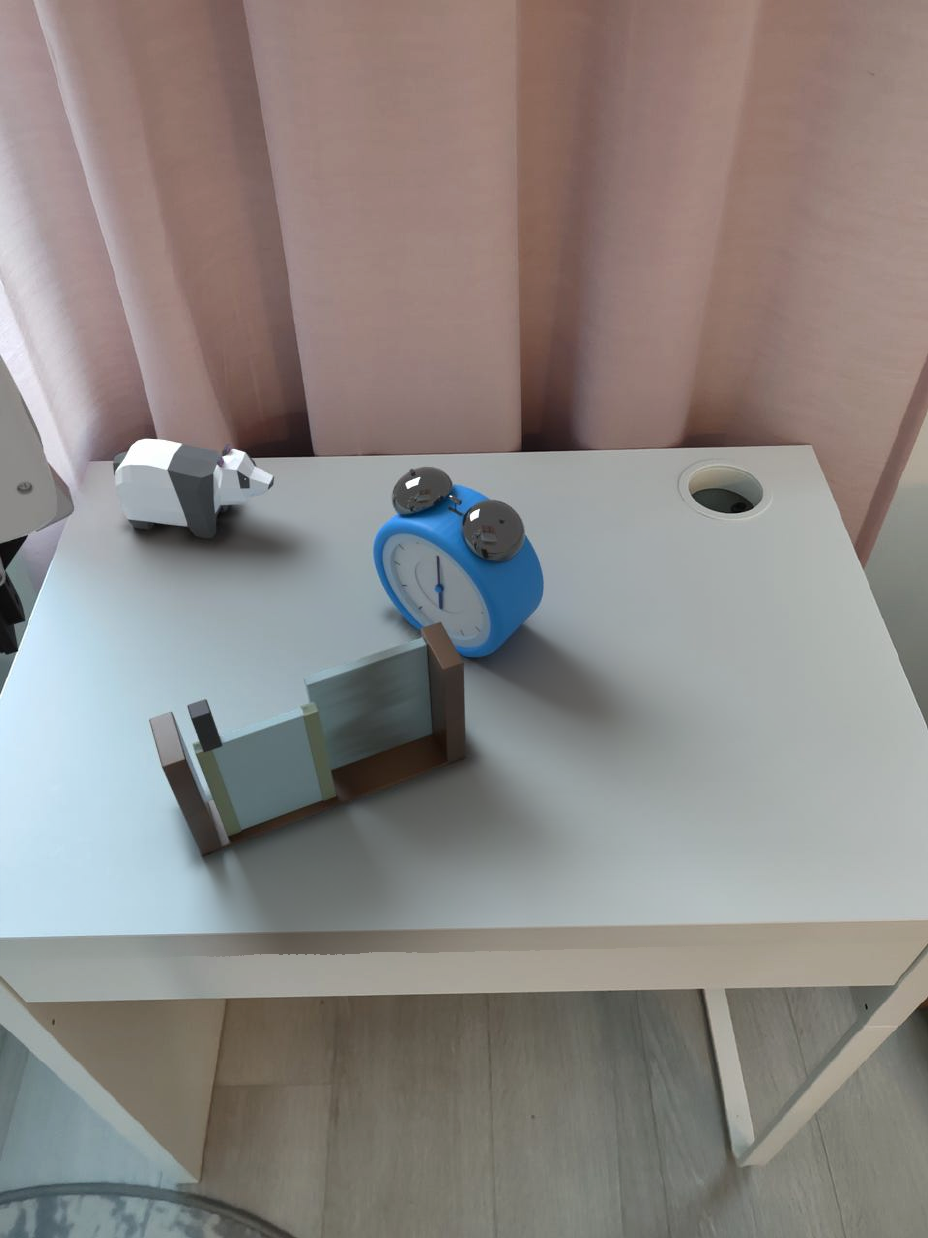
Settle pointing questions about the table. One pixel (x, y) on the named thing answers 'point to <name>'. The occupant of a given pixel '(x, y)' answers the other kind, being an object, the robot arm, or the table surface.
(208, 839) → the window frame
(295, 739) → the pane
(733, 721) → the table surface
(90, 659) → the table surface
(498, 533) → the alarm clock
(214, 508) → the giant panda
